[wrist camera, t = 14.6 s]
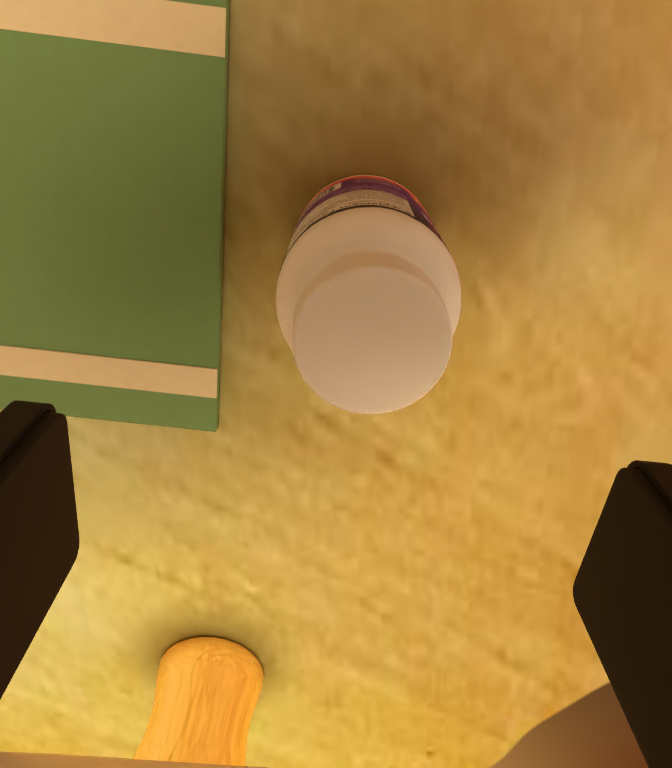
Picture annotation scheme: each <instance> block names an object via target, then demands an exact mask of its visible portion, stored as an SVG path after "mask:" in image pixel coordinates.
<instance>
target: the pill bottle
mask: <svg viewBox="0 0 672 768" xmlns="http://www.w3.org/2000/svg"><path fill="white" fill-rule="evenodd" d="M276 310H277V316H278V321H279V325H280V328H281V331H282V333H283V336H284V338H285V340H286V342H287V344H288V346H289V347H290V349H291V350H292V352H293V356H294V360H295V363H296V366H297V368H298V371H299V373H300V374H301V376H302V378H303V380H304V381H305V382H306V383H307V385H308V386H309V387H310V388H311V390H312V391H313V392H314V393H315V394H316V395H318V396H319V397H320V398H322V399H323V400H325V401H326V402H328V403H329V404H331V405H333V406H335V407H337V408H340V409H342V410H346V411H350V412H353V413H360V414H382V413H388V412H392V411H396V410H399V409H402V408H404V407H406V406H409V405H410V404H412V403H414V402H416V401H417V400H419V399H420V398H422V397H423V396H424V395H425V394H427V393H428V392H429V391H430V390H431V389H432V388H433V387H434V385H435V384H436V383H437V382H438V381H439V379H440V378H441V376H442V374H443V372H444V370H445V369H446V366H447V364H448V361H449V357H450V353H451V349H452V337H453V335H454V333H455V330H456V327H457V324H458V321H459V316H460V311H461V287H460V280H459V276H458V272H457V269H456V266H455V263H454V261H453V258H452V256H451V254H450V252H449V250H448V248H447V247H446V245H445V244H444V242H443V240H442V239H441V237H440V235H439V234H438V232H437V230H436V228H435V226H434V225H433V223H432V221H431V219H430V217H429V215H428V213H427V211H426V210H425V208H424V207H423V205H422V204H421V203H420V202H419V200H418V199H417V198H416V197H415V196H414V195H413V194H412V193H411V192H410V191H409V190H407V189H406V188H405V187H403V186H402V185H400V184H399V183H397V182H395V181H392V180H390V179H387V178H385V177H380V176H375V175H355V176H350V177H346V178H343V179H340V180H337V181H335V182H333V183H331V184H329V185H328V186H326V187H325V188H323V189H322V190H321V191H319V192H318V193H317V194H316V195H315V196H314V197H313V198H312V199H311V200H310V202H309V203H308V204H307V206H306V207H305V209H304V210H303V212H302V213H301V215H300V217H299V220H298V222H297V225H296V227H295V230H294V233H293V236H292V239H291V241H290V244H289V247H288V250H287V253H286V256H285V258H284V261H283V263H282V266H281V269H280V273H279V277H278V282H277V288H276Z"/></svg>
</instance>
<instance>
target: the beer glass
mask: <svg viewBox="0 0 672 768" xmlns="http://www.w3.org/2000/svg"><path fill="white" fill-rule="evenodd" d="M262 685H263V669H262V666H261V664H260V662H259V661H258V659H257V658H256V657H255V656H254V655H253V654H252V653H251V652H250V651H249V650H247V649H246V648H244V647H243V646H241V645H239V644H237V643H235V642H232V641H229V640H226V639H222V638H216V637H196V638H190V639H186V640H183V641H181V642H179V643H177V644H175V645H173V646H172V647H170V648H169V649H168V650H167V651H166V652H165V654H164V655H163V657H162V659H161V661H160V664H159V668H158V674H157V683H156V692H155V699H154V705H153V710H152V713H151V717H150V721H149V723H148V726H147V729H146V731H145V734H144V737H143V739H142V741H141V743H140V745H139V747H138V749H137V751H136V753H135V756H134V757H133V759H140V760H156V761H172V762H187V763H203V764H219V765H235V766H246V747H247V737H248V732H249V726H250V722H251V719H252V715H253V712H254V709H255V706H256V704H257V701H258V698H259V695H260V692H261V689H262Z"/></svg>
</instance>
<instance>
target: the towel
mask: <svg viewBox="0 0 672 768" xmlns="http://www.w3.org/2000/svg"><path fill="white" fill-rule="evenodd" d="M229 3H230V0H0V409H4V408H5V407H6V406H7V405H8V404H10V403H11V402H12V401H15V400H19V401H30V402H40V403H50V404H52V405H53V406H54V407H55V409H56V412H57V413H62V414H64V415H65V416H72V417H82V418H91V419H100V420H109V421H119V422H128V423H137V424H147V425H156V426H165V427H175V428H184V429H193V430H203V431H212V432H216V430H217V428H218V424H219V385H220V347H221V309H222V271H223V232H224V194H225V156H226V117H227V79H228V41H229Z"/></svg>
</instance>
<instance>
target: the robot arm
mask: <svg viewBox="0 0 672 768" xmlns="http://www.w3.org/2000/svg"><path fill="white" fill-rule="evenodd" d="M78 549H79V530H78V521H77V512H76V502H75V493H74V483H73V474H72V464H71V455H70V445H69V436H68V427H67V420H66V417H65V415H64V414H62V413H57V412H56V409H55V407H54V406H53V405H52V404H50V403H40V402H30V401H19V400H15V401H12V402H11V403H10V404H8V405H7V406H6V407H5V408H4V409H3V410H2V411H1V412H0V699H1V697H2V695H3V693H4V692H5V690H6V688H7V686H8V684H9V682H10V681H11V679H12V677H13V675H14V673H15V671H16V669H17V668H18V666H19V664H20V662H21V660H22V658H23V657H24V655H25V653H26V651H27V649H28V647H29V645H30V644H31V642H32V640H33V638H34V636H35V634H36V632H37V631H38V629H39V627H40V625H41V623H42V621H43V620H44V618H45V616H46V614H47V612H48V610H49V608H50V607H51V605H52V603H53V601H54V599H55V597H56V596H57V594H58V592H59V590H60V588H61V586H62V584H63V583H64V581H65V579H66V577H67V575H68V573H69V571H70V570H71V568H72V566H73V564H74V562H75V560H76V557H77V554H78ZM573 597H574V602H575V605H576V607H577V609H578V612H579V614H580V616H581V618H582V621H583V623H584V625H585V627H586V629H587V632H588V634H589V636H590V638H591V640H592V643H593V645H594V647H595V649H596V652H597V654H598V656H599V658H600V660H601V663H602V665H603V667H604V669H605V672H606V674H607V676H608V678H609V680H610V683H611V685H612V687H613V689H614V692H615V694H616V696H617V698H618V700H619V703H620V705H621V707H622V709H623V711H624V714H625V716H626V718H627V720H628V723H629V725H630V727H631V729H632V732H633V734H634V736H635V738H636V740H637V743H638V745H639V747H640V749H641V751H642V754H643V756H644V758H645V760H646V762H647V765H648V767H649V768H672V465H671V464H667V463H658V462H648V461H637V460H636V461H633V462H631V463H630V464H629V465H628V467H627V468H622V469H620V470H619V471H618V473H617V475H616V477H615V480H614V483H613V485H612V488H611V490H610V493H609V495H608V498H607V500H606V503H605V505H604V508H603V510H602V513H601V515H600V518H599V520H598V523H597V526H596V528H595V531H594V533H593V536H592V538H591V541H590V543H589V546H588V548H587V551H586V553H585V556H584V558H583V561H582V564H581V566H580V569H579V571H578V574H577V576H576V579H575V581H574V585H573ZM0 768H266V767H250V766H235V765H219V764H203V763H187V762H172V761H156V760H140V759H124V758H109V757H93V756H77V755H61V754H40V753H18V752H0Z"/></svg>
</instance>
